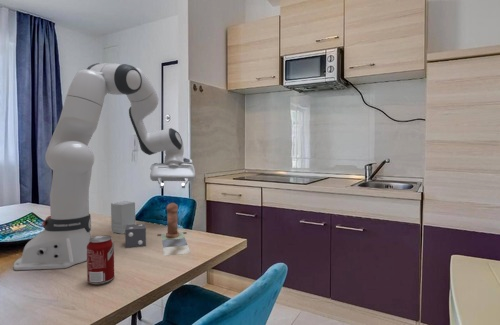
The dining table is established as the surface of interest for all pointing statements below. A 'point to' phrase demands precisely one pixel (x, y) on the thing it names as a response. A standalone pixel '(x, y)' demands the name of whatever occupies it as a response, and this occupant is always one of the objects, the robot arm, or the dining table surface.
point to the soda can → (100, 260)
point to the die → (135, 235)
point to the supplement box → (122, 215)
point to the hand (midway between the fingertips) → (172, 187)
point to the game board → (174, 244)
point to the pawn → (172, 221)
